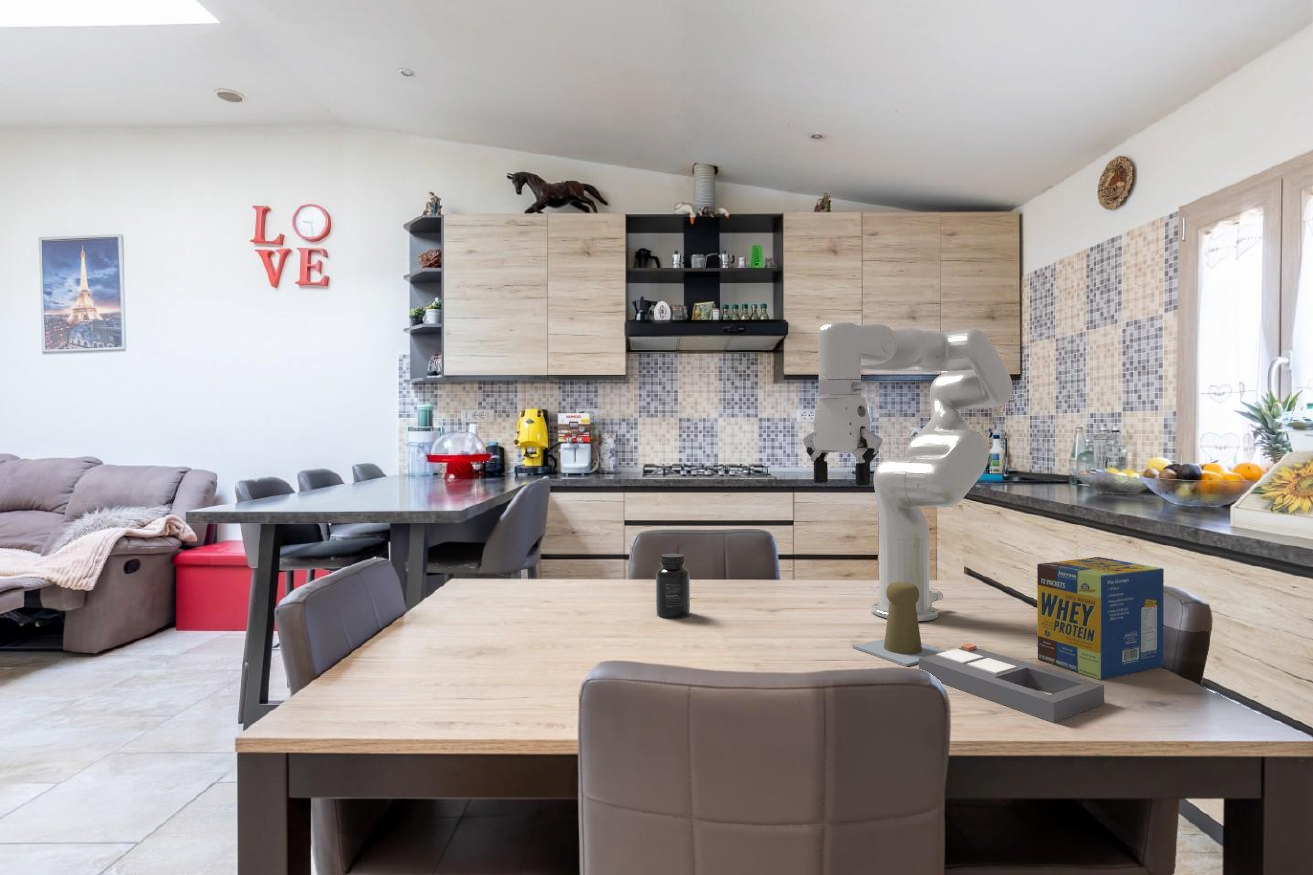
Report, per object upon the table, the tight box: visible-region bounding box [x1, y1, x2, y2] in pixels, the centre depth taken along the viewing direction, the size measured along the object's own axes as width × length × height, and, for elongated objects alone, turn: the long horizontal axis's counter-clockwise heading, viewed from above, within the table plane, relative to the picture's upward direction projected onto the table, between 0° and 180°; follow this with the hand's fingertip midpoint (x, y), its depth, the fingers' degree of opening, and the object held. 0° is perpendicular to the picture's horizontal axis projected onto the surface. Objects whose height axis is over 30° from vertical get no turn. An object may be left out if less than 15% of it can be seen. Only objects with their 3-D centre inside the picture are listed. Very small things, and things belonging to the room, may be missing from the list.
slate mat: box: [852, 638, 947, 667], centre depth 113 cm, size 11×11×1 cm
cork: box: [884, 582, 922, 655], centre depth 113 cm, size 6×6×11 cm
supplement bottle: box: [655, 553, 691, 619], centre depth 138 cm, size 7×7×12 cm
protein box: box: [1036, 556, 1165, 681], centre depth 107 cm, size 10×15×16 cm
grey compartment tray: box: [918, 643, 1105, 724], centre depth 96 cm, size 12×20×3 cm, turn 30°
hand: (841, 483), depth 125 cm, fingers open, 9 cm apart
